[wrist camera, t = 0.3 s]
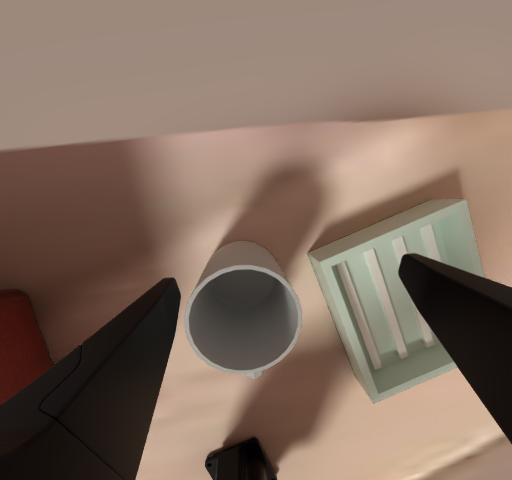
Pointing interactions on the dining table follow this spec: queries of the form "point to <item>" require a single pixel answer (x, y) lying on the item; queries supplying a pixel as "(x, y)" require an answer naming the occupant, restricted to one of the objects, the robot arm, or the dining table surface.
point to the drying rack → (393, 293)
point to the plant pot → (19, 344)
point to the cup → (243, 311)
